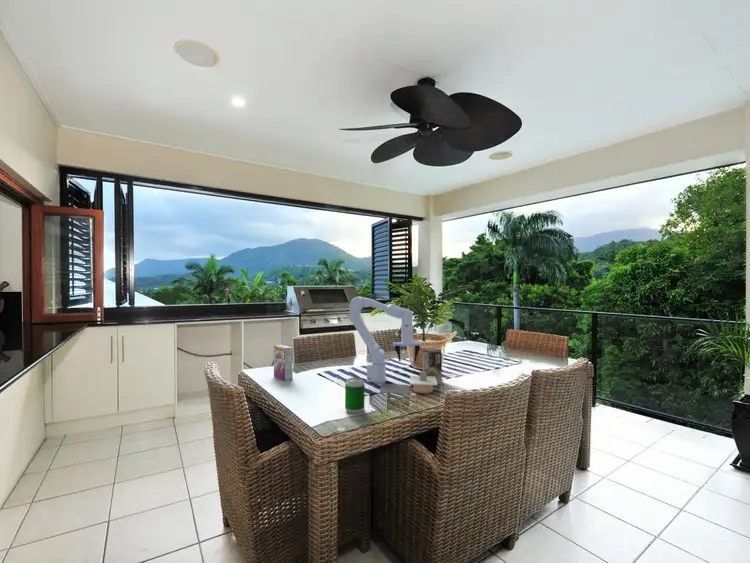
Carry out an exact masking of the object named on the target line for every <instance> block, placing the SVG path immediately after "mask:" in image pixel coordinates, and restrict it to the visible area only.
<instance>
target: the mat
mask: <svg viewBox="0 0 750 563" xmlns="http://www.w3.org/2000/svg"><path fill="white" fill-rule="evenodd" d="M409 392H410V384H396V383H382V384H381V387H380V390H379V392H378V393H382V394H383V393H385V394H410V393H409Z"/></svg>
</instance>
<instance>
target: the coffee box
mask: <svg viewBox="0 0 750 563" xmlns="http://www.w3.org/2000/svg"><path fill="white" fill-rule="evenodd" d="M442 355H443V354H442V349H434V348H433V349H432V348H431V349H430V348H429V349H428V348H427V349H426V348H425V349H424V348H422V371H426V372H427V376H434V377H436V381H437V385H439V386H440V385H441V386H442V385H443V377H442V376H443V375H442V373H443V371H442V367H443V364H442V361H443V360H442V357H443V356H442Z"/></svg>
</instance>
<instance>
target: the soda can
mask: <svg viewBox="0 0 750 563" xmlns="http://www.w3.org/2000/svg"><path fill="white" fill-rule="evenodd" d="M344 388H345V389H344V390H345V391H344V392H345V393H344V395H345V398H344V401H345V402H344V406H345V407H344V408H345V410H346V411H347V412H348V413H349V412H350V414H353V413H356V414H360V413H362V412H363V411H364V409H365V395H366V394H365V389H366V386H365V380H363V379H362V378H361V377H351V378H347V380H346V381H345V384H344ZM361 411H362V412H361ZM359 412H360V413H359Z"/></svg>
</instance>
